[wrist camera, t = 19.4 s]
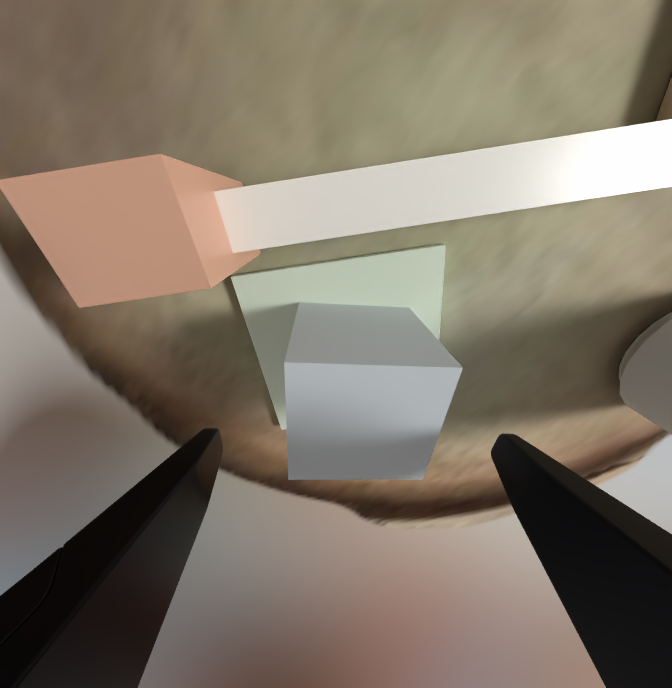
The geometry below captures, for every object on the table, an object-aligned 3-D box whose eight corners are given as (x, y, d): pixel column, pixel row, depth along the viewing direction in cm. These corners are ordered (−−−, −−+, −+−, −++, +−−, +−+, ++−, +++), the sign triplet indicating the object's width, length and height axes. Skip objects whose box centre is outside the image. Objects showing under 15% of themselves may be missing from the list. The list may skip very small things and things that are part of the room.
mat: (233, 275, 11) (230, 277, 10) (441, 243, 11) (445, 244, 10) (282, 424, 15) (281, 429, 15) (431, 404, 15) (434, 409, 15)
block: (299, 391, 13) (288, 479, 9) (299, 302, 11) (284, 362, 7) (390, 393, 14) (422, 479, 9) (409, 307, 11) (462, 368, 7)
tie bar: (158, 195, 9) (-5, 180, 4) (724, 105, 8) (1167, -10, 4) (186, 264, 10) (79, 308, 6) (686, 189, 10) (998, 170, 5)
